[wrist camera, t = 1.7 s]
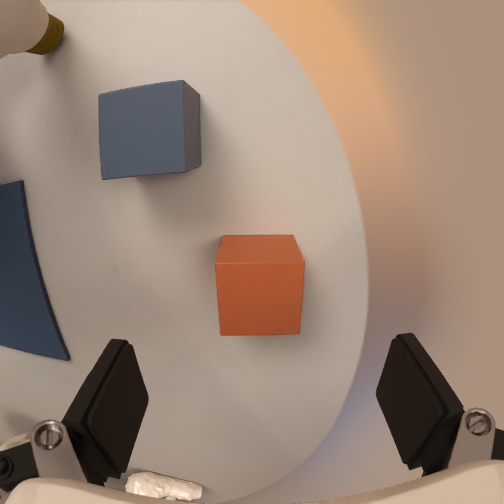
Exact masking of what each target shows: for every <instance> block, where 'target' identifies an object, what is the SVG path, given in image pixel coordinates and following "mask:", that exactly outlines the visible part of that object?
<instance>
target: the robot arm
mask: <svg viewBox="0 0 504 504" xmlns="http://www.w3.org/2000/svg"><path fill="white" fill-rule="evenodd" d="M376 397H377V400H378V402H379V405H380V407H381V409H382V412H383V414H384V417H385V419H386V422H387V424H388V427H389V429H390V431H391V434H392V436H393V439H394V442H395V444H396V446H397V449H398V452H399V454H400V457H401V459H402V462H403V463H404V464H407V466H408V468H409V470H412V469H415V468H418V467H421V466H422V469H423V471H424V472H423V475H422V477H421V478H418V479H415V480H412V481H409V482H405V483H402V484H398V485H395V486H391V487H387V488H384V489H380V490H375V491H371V492H367V493H362V494H358V495H352V496H347V497H342V498H335V499H329V500H322V501H315V502H305V503H295V504H504V431H503V430H500V429H496V428H495V420H494V418H493V416H492V415H491V414H490V413H489V412H488V411H486V410H484V409H481V408H471V409H469V410H467V411H466V412H465V411H464V409H463V405H462V403H461V402H460V400H459V399H458V397H457V396H456V394H455V393H454V391H453V390H452V388H451V387H450V385H449V384H448V382H447V381H446V379H445V378H444V376H443V375H442V373H441V372H440V370H439V369H438V368H437V366H436V365H435V363H434V362H433V360H432V359H431V358H430V356H429V355H428V353H427V352H426V351H425V349H424V348H423V347H422V345H421V344H420V342H419V341H418V340H417V338H416V337H415V335H414V334H413V333H405V334H398V335H397V336H396V338H395V339H393V340H392V342H391V345H390V348H389V352H388V356H387V359H386V362H385V365H384V368H383V371H382V374H381V377H380V380H379V384H378V386H377V390H376ZM148 399H149V398H148V393H147V390H146V387H145V384H144V381H143V378H142V375H141V372H140V369H139V365H138V362H137V359H136V355H135V352H134V348H133V346H132V345H131V344H129V343H128V341H127V340H121V339H111V340H110V341H109V343H108V345H107V346H106V348H105V349H104V351H103V353H102V354H101V356H100V357H99V359H98V361H97V362H96V364H95V366H94V367H93V369H92V371H91V372H90V373H89V374H88V376H87V378H86V379H85V381H84V383H83V385H82V386H81V388H80V390H79V391H78V393H77V395H76V397H75V398H74V400H73V402H72V404H71V405H70V407H69V409H68V411H67V413H66V414H65V416H64V418H63V420H62V422H59V421H56V420H45V421H43V422H40V423H39V424H38V425H36V426H35V427H34V429H33V430H32V433H31V436H30V437H31V441H29V442H27V443H24V444H21V445H18V446H15V447H12V448H9V449H6V450H3V451H0V504H201V503H191V502H182V501H174V500H167V499H161V498H155V497H149V496H144V495H139V494H133V493H129V492H124V491H120V490H116V489H111V488H108V486H107V484H106V481H107V478H108V476H109V477H113V478H117V479H120V476H121V473H125V472H126V470H127V467H128V463H129V460H130V457H131V454H132V451H133V447H134V444H135V441H136V438H137V435H138V432H139V429H140V426H141V423H142V420H143V417H144V414H145V411H146V408H147V405H148Z"/></svg>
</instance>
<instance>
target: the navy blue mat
mask: <svg viewBox="0 0 504 504" xmlns="http://www.w3.org/2000/svg"><path fill="white" fill-rule="evenodd" d="M0 345H2V346H6V347H9V348H13V349H17V350H21V351H25V352H29V353H33V354H37V355H42V356H46V357H51V358H56V359H61V360H66V361H69V359H70V357H69V355H68V352H67V350H66V348H65V345H64V343H63V340H62V337H61V335H60V332H59V330H58V327H57V324H56V321H55V319H54V316H53V313H52V310H51V307H50V304H49V301H48V298H47V294H46V291H45V288H44V284H43V281H42V277H41V273H40V270H39V266H38V262H37V258H36V254H35V249H34V245H33V240H32V235H31V230H30V225H29V219H28V214H27V207H26V200H25V193H24V185H23V180H21V181H17V182H13V183H9V184H4V185H0Z"/></svg>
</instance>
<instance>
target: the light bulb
mask: <svg viewBox="0 0 504 504" xmlns="http://www.w3.org/2000/svg"><path fill="white" fill-rule="evenodd" d="M63 32H64V25H63V22H62V21H61V20H59V19H57V18H56V17H54V16H52V15H50V14H49V13H47V10H46V8H45V7H44V6H43V5H42V4H41V3H40V1H39V0H0V58H2V57H4V56H6V55H8V54H13V53H22V52H29V53H34V54H39V55H44V54H47V53H49V52H50V51H51V50H53V49H54V48H55V47H56V46H57V44H58V43H59V41H60V40H61V38H62V35H63Z"/></svg>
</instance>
